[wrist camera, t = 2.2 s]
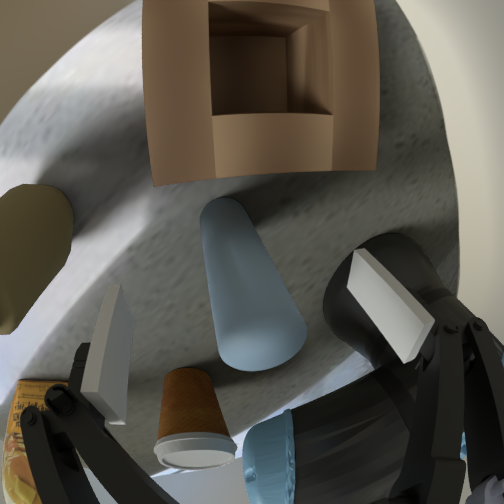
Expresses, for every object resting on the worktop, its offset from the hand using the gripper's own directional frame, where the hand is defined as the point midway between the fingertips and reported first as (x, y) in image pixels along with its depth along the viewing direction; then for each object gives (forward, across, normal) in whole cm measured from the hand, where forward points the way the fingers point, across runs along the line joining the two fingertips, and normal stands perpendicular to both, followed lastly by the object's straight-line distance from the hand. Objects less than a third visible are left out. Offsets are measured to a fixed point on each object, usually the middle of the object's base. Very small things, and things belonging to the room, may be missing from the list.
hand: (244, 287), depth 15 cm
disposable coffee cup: (+10, +7, +22) cm, 26 cm away
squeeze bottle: (+10, +16, -3) cm, 19 cm away
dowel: (+10, 0, 0) cm, 10 cm away
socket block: (+10, -2, -12) cm, 16 cm away
